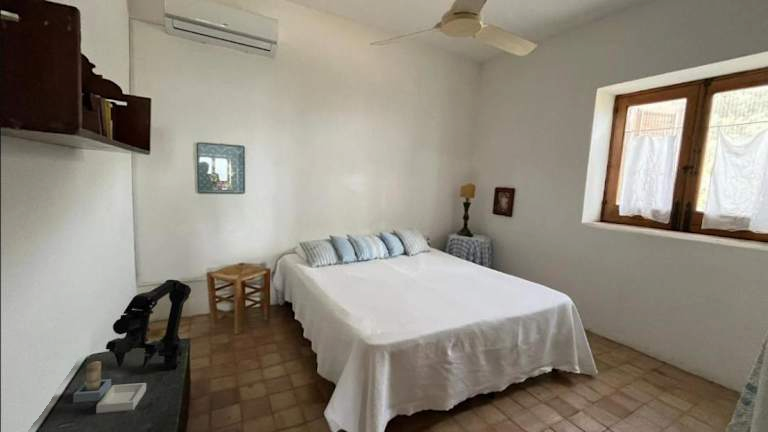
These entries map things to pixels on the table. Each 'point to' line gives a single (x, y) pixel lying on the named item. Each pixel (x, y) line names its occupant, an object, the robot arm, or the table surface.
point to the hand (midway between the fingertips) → (132, 367)
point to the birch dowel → (93, 376)
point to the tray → (121, 398)
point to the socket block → (91, 392)
